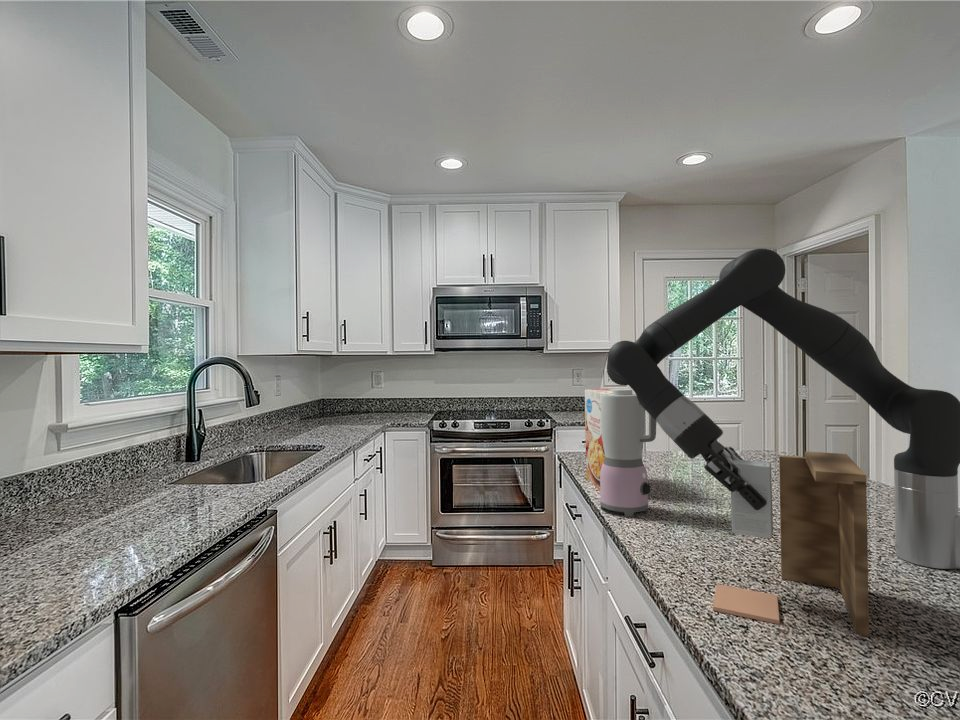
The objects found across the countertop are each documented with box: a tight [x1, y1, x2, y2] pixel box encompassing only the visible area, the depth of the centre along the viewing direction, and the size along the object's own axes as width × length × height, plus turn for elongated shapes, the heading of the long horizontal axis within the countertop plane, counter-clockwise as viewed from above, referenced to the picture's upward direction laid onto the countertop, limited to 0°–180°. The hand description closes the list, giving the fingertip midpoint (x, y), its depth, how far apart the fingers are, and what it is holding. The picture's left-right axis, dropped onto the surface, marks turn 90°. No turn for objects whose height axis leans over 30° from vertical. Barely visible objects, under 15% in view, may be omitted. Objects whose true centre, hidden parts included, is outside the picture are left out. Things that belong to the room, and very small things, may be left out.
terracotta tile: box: [712, 583, 780, 625], centre depth 80 cm, size 9×9×1 cm
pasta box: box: [584, 388, 613, 492], centre depth 156 cm, size 23×8×30 cm, turn 2°
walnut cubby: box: [778, 451, 870, 637], centre depth 80 cm, size 10×18×23 cm, turn 151°
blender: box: [599, 388, 657, 518], centre depth 130 cm, size 16×12×32 cm
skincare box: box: [730, 459, 774, 540], centre depth 84 cm, size 6×4×12 cm
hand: (764, 502), depth 83 cm, fingers closed on skincare box, 4 cm apart
